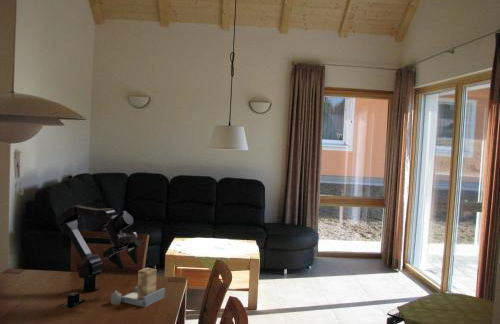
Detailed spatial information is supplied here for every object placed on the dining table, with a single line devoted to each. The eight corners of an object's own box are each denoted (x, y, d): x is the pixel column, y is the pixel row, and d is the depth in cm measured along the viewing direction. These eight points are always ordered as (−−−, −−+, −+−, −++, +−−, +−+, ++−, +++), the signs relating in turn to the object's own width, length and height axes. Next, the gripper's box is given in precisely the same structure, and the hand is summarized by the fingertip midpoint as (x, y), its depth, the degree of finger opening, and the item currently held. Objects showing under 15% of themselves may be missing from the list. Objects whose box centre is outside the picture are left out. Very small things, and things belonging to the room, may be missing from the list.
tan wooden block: (137, 301, 193) (138, 270, 193) (146, 296, 199) (147, 267, 198) (147, 303, 191) (147, 272, 191) (155, 298, 197) (156, 269, 196)
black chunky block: (70, 310, 184) (70, 299, 184) (55, 308, 186) (55, 297, 186) (89, 301, 196) (90, 290, 196) (75, 298, 198) (75, 288, 198)
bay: (106, 305, 190) (107, 291, 189) (135, 293, 206) (136, 279, 206) (137, 313, 183) (137, 298, 183) (164, 299, 200) (165, 285, 199)
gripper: (112, 229, 190) (128, 263, 187) (141, 223, 207) (156, 254, 204) (95, 241, 194) (110, 274, 191) (125, 234, 211) (139, 264, 208)
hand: (130, 266), depth 199 cm, fingers open, 9 cm apart
